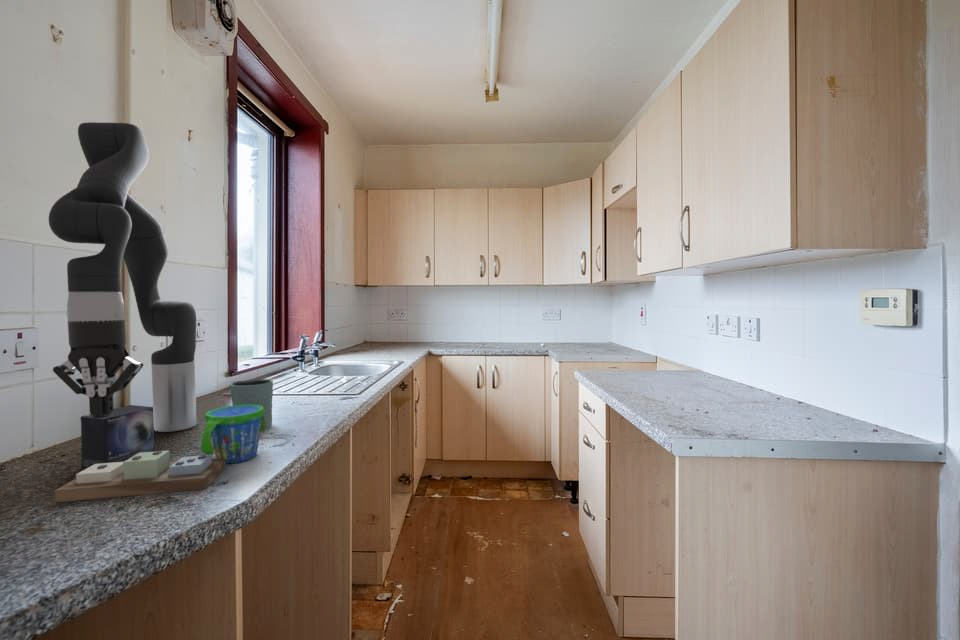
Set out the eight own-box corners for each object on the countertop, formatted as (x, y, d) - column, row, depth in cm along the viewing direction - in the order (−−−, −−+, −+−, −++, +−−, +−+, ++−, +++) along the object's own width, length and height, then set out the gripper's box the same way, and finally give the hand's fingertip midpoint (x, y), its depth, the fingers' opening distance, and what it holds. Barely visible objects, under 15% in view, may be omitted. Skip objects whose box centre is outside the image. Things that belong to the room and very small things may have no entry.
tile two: (139, 471, 81) (138, 451, 81) (170, 469, 82) (169, 448, 82) (123, 482, 76) (123, 460, 76) (156, 479, 77) (155, 458, 77)
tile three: (182, 475, 82) (181, 455, 82) (212, 473, 83) (211, 453, 83) (169, 486, 77) (169, 465, 77) (201, 483, 78) (200, 462, 78)
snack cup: (224, 475, 83) (222, 421, 82) (182, 469, 86) (180, 417, 85) (284, 448, 97) (283, 403, 97) (247, 444, 101) (245, 400, 100)
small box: (106, 471, 85) (104, 418, 85) (79, 469, 86) (77, 416, 86) (156, 453, 95) (154, 405, 95) (132, 451, 97) (130, 404, 96)
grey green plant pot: (263, 432, 110) (261, 385, 109) (222, 433, 110) (220, 385, 109) (280, 422, 120) (279, 378, 119) (243, 422, 120) (242, 378, 119)
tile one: (95, 483, 79) (94, 462, 79) (127, 480, 80) (126, 459, 80) (76, 494, 74) (75, 472, 74) (110, 491, 75) (110, 469, 75)
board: (94, 478, 81) (94, 468, 81) (225, 467, 86) (225, 457, 86) (55, 502, 72) (55, 490, 72) (205, 488, 76) (204, 477, 76)
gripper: (151, 317, 81) (155, 409, 82) (67, 318, 79) (72, 414, 79) (128, 318, 74) (133, 420, 75) (35, 320, 71) (40, 425, 72)
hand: (101, 416), depth 77 cm, fingers closed
